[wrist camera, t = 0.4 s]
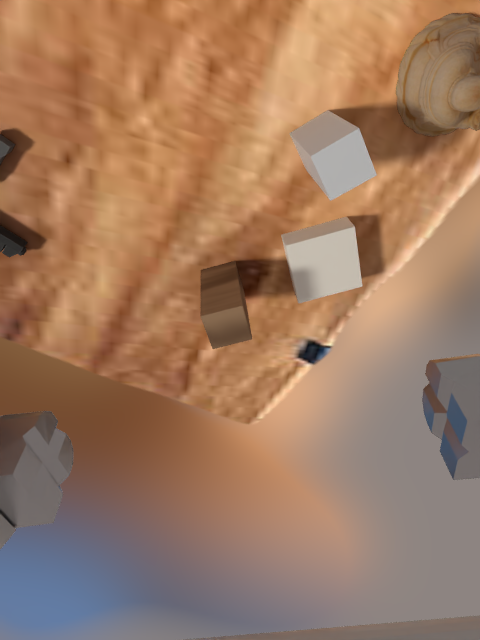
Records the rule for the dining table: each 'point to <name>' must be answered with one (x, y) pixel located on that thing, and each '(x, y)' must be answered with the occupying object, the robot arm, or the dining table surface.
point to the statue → (442, 77)
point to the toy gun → (3, 237)
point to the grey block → (333, 153)
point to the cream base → (323, 259)
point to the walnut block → (224, 306)
